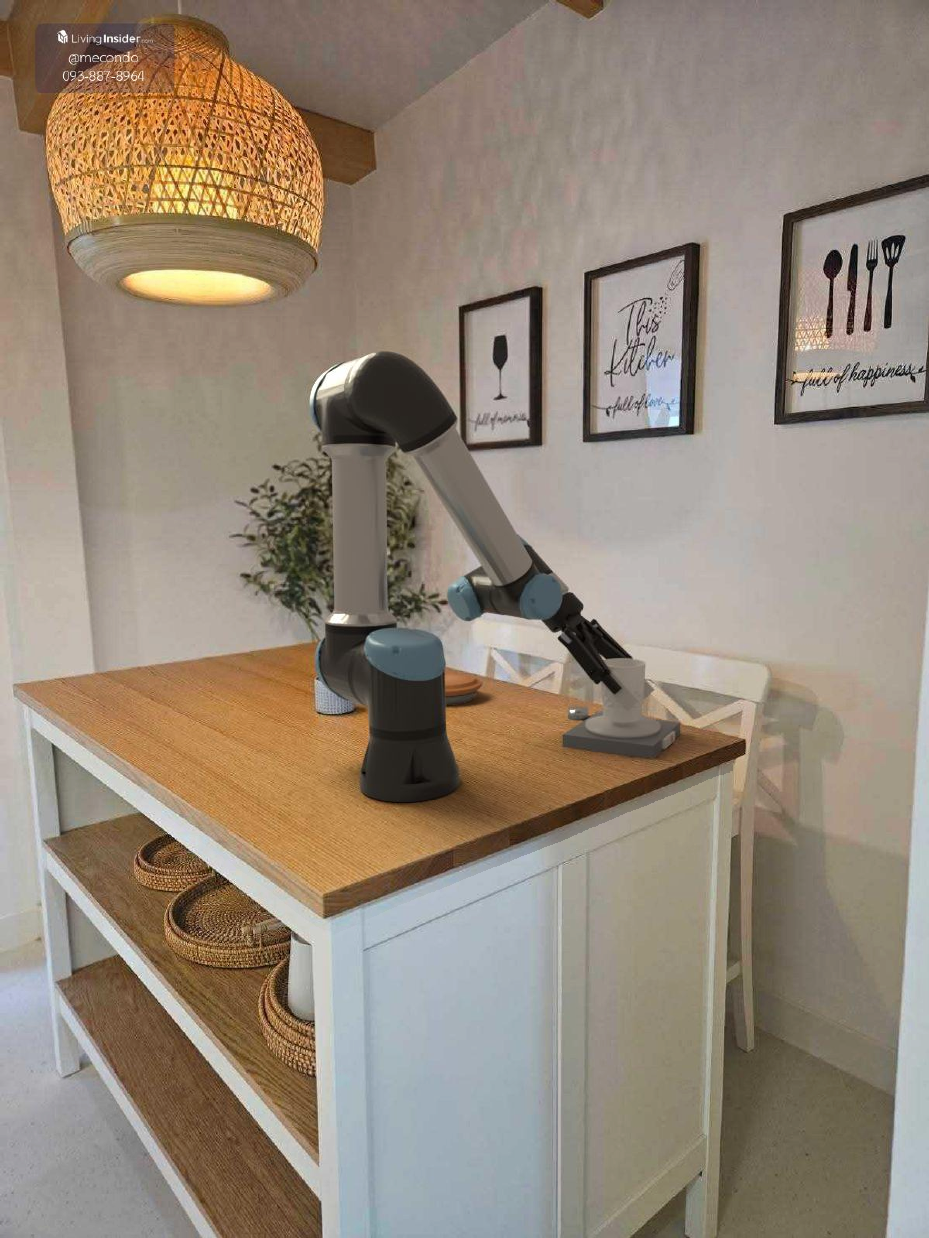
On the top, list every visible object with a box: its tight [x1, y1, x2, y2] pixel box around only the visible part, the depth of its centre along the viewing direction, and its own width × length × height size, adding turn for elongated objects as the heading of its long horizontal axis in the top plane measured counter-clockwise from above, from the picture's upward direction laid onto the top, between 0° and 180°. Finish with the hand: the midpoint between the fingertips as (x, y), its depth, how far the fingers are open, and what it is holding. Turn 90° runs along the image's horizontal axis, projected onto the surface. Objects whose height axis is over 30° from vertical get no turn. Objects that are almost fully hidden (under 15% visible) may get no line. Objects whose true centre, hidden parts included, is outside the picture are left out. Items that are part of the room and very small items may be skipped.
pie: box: [445, 672, 483, 706], centre depth 178 cm, size 15×16×5 cm
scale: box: [562, 713, 681, 760], centre depth 144 cm, size 16×17×3 cm
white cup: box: [600, 658, 646, 723], centre depth 143 cm, size 8×8×10 cm
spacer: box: [567, 705, 589, 722], centre depth 160 cm, size 4×4×2 cm
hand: (641, 699), depth 141 cm, fingers closed on white cup, 8 cm apart
